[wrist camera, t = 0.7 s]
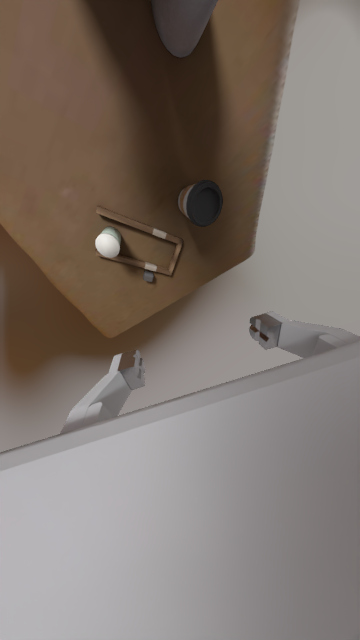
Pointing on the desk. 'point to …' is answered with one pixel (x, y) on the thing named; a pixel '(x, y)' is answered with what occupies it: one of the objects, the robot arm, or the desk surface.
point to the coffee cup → (201, 202)
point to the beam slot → (118, 217)
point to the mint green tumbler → (109, 242)
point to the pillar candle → (181, 23)
